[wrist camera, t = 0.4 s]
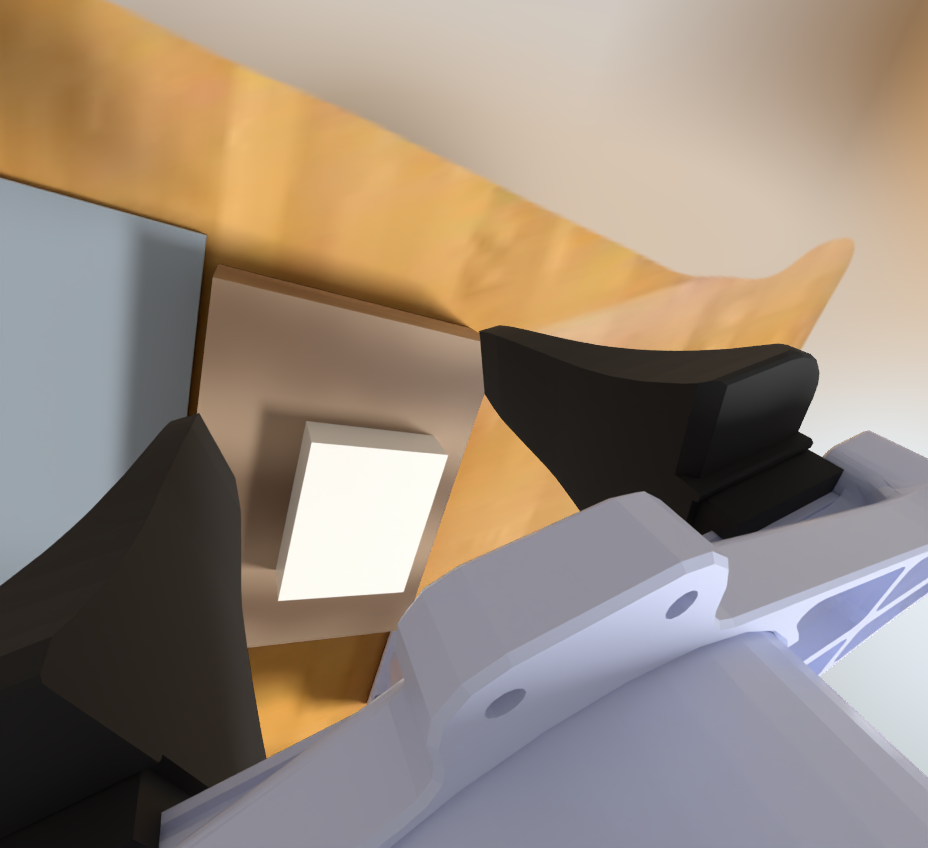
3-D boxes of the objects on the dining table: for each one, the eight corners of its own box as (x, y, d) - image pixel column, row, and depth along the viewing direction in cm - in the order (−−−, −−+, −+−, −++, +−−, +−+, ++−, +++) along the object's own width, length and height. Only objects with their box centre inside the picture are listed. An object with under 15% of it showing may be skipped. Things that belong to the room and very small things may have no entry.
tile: (393, 565, 24) (403, 592, 23) (275, 570, 22) (277, 601, 20) (433, 435, 22) (448, 455, 20) (306, 420, 19) (311, 442, 17)
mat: (165, 616, 24) (164, 622, 24) (-181, 643, 18) (-189, 651, 18) (206, 234, 18) (206, 235, 17) (-307, 91, 12) (-322, 88, 12)
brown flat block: (389, 588, 30) (403, 630, 27) (177, 601, 24) (168, 656, 21) (470, 327, 24) (500, 346, 21) (218, 263, 18) (212, 277, 15)
